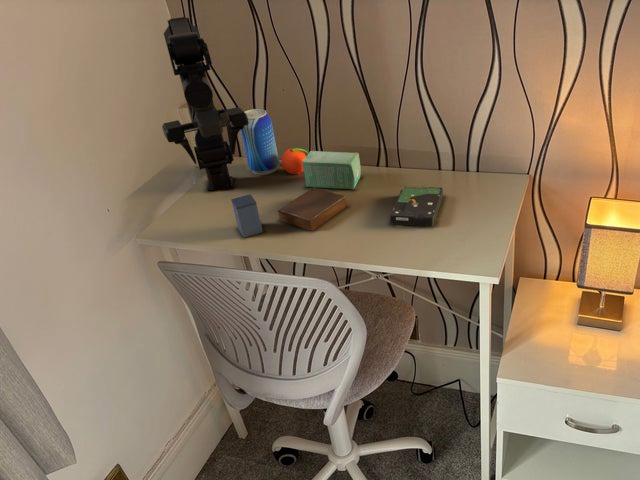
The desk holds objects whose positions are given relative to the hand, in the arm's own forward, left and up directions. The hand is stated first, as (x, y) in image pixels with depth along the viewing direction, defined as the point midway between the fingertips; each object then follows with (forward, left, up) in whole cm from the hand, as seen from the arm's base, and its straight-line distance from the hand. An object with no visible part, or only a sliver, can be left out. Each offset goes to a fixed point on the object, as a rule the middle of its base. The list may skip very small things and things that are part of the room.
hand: (214, 158), depth 149 cm
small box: (+14, +6, -13) cm, 20 cm away
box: (-5, +28, -13) cm, 31 cm away
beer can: (-19, +10, -13) cm, 25 cm away
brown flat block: (+10, +21, -13) cm, 27 cm away
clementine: (-14, +19, -13) cm, 27 cm away
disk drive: (+16, +46, -13) cm, 50 cm away
